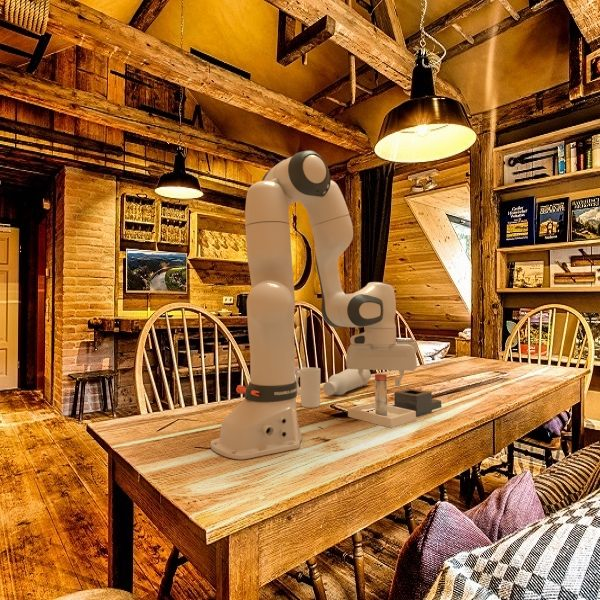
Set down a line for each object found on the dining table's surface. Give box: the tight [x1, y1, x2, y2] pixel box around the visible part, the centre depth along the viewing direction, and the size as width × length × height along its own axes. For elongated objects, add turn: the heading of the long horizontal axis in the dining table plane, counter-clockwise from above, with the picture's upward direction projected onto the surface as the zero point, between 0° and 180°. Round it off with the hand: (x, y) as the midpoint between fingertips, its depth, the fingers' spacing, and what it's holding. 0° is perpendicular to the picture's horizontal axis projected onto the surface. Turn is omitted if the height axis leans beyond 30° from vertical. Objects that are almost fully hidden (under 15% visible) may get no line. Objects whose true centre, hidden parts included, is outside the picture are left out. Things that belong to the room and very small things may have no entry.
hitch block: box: [393, 388, 442, 418], centre depth 132 cm, size 16×8×6 cm, turn 131°
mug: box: [295, 367, 321, 409], centre depth 139 cm, size 10×7×12 cm, turn 47°
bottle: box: [322, 368, 372, 396], centre depth 160 cm, size 9×9×30 cm
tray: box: [347, 401, 417, 429], centre depth 122 cm, size 12×16×2 cm
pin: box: [374, 373, 388, 417], centre depth 122 cm, size 3×3×12 cm
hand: (381, 385), depth 122 cm, fingers open, 8 cm apart
